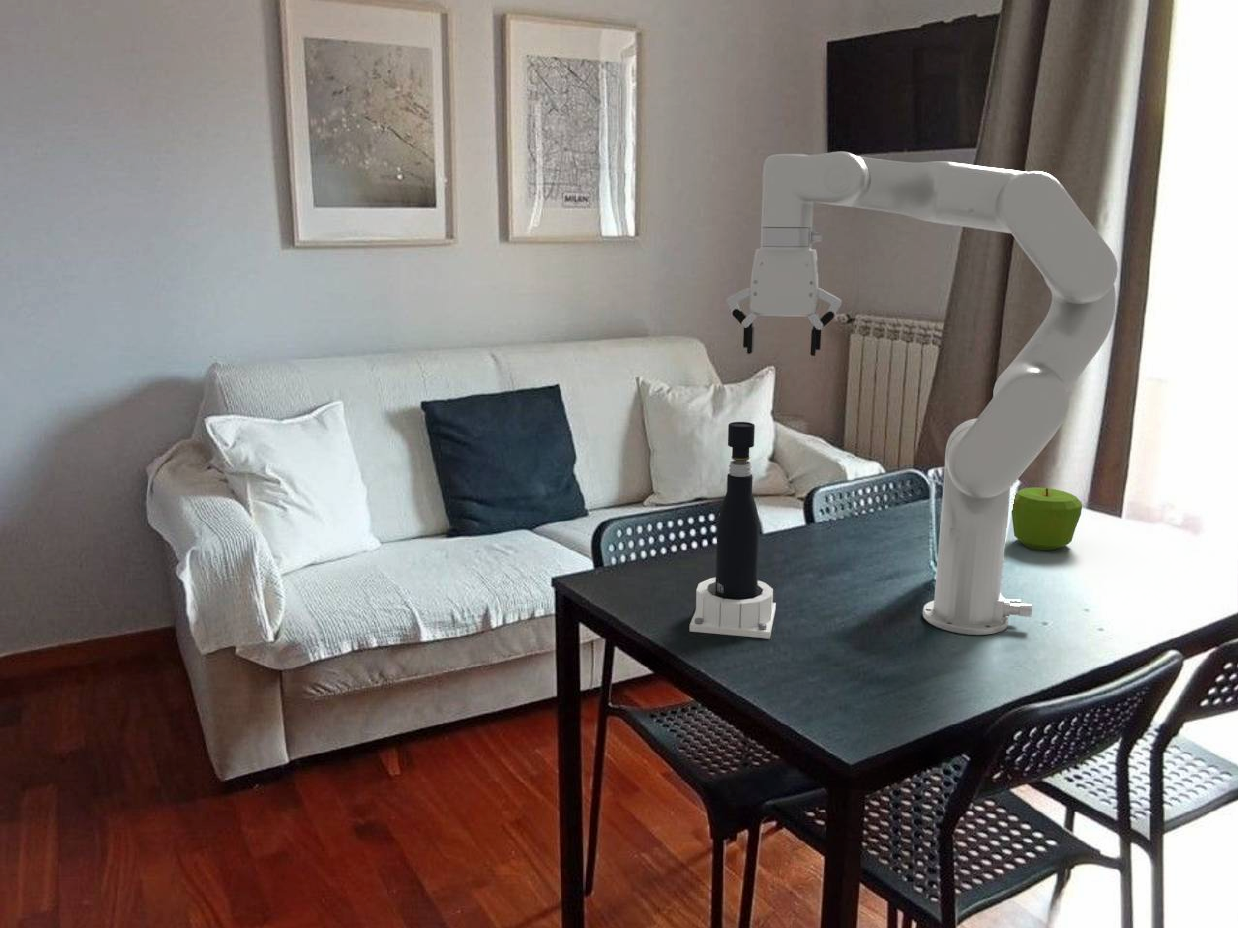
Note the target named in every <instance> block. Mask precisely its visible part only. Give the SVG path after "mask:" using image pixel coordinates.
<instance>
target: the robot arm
mask: <svg viewBox="0 0 1238 928" xmlns="http://www.w3.org/2000/svg"><path fill="white" fill-rule="evenodd" d="M762 172H763V175H762V201H761V203H762V204H761V227H760V228H761V229H760V248H756V250H755V253H754V259H753V264H752V268H751V269H752V270H751V279H750V286H749V287H746V288H744V289H743V290H740V291H738V292H736V293H734V294H733V295H730V296H729V297H727V298H726V304H727V305H728V307H729V310H730V312H731V314H732V316H733V317H734V318H735V319H736V321H737V322H739V323H740V325H741V327H743V337H742V339H743V340H742V347H743V348H746V354H747V355H751V354H752V353H753V352H754V342H755V339H754V338H755V326H754V325H753V323H754V321H755V320H756V319H757V317H758V316H764V317H793V318H795V317H797V318H798V317H799V318H801V317H802V318H803V317H807V319H808V320H809V321H810V323H811V324H812V325H813V327H812V329H811V334H810V335H811V336H810V356H811V357H815V356H816V353H817V351H821V345H822V329H824V327H826V325H827V324H828V323H830V321H832V320H834V318H835V316H836V314H837V312H838V311H839V309H840V307H841V306H842V303H843V302H842V300H841V299H840V298H838V297H837V296H835V295H833V294H831V293H830V292H827V291H826V290H824V289H822V288H820V287H819V261H818V254H817V249H814V248H813V249H812V245H813V244H814V243H817V242H820V243H821V242H822V236H823V234H822V232H817V231H815V230H813V218H814V203H815V204H816V203H817V204H825V205H831V206H842V207H849V208H856V209H857V208H858V209H864V210H865V209H866V210H872V211H873V210H874V211H880V212H887V213H891V214H898V215H899V214H900V215H904V216H908V217H912V218H913V219H914V218H915V219H917V220H920V221H924V222H929V223H930V222H931V223H935V224H941V225H949V226H957V227H958V226H959V227H963V228H964V227H965V228H970V229H971V228H972V229H979V230H985V231H990V232H991V231H993V232H997V233H998V232H999V233H1006V234H1011V235H1012V236H1013V237H1014V239H1015V240H1016V242H1017V243H1018V245H1019V247H1021V249H1022V251H1023V252H1024V253H1025V254H1026V255H1027V257H1028V258H1029V260H1030V261H1031V262H1032V263H1033V265H1034V266H1035V268H1036V269H1037V270H1038V271H1039V272H1040V274H1041V275H1042V276H1043V279H1044V282H1045V284H1046V285H1047V287H1048V289H1049V290H1050V292H1051V304H1050V307H1049V310H1048V312H1047V315H1046V317H1045V318H1044V319H1043V320H1042V323H1041V324H1040V326H1039V327H1038V328H1037V329H1036V331H1035V333H1034V334H1033V335H1032V337H1031V338H1030V340H1028V342H1027V343H1026V344H1025V346H1024V347H1023V348H1022V350H1020V352H1019V353H1018V354H1017V356H1016V357H1015V358H1014V359H1013V360H1012V362H1011V363H1009V365H1008V366H1007V367H1006V368H1005V370H1004V371H1002V373H1001V374H1000V375H999V377H998V378H997V380H996V381H995V384H994V387H993V391H992V392H993V395H992V399H991V400H990V402H988V404H987V405H986V407H985V408H984V409H983V411H982V412H981V413H980V414H979V416H978V417H977V418H972V419H969V420H965V421H964V422H961V423H960V424H959V425H957V426H956V427H955V428H954V429H953V431H952V432H951V433H950V435H949V437H948V439H947V442H946V446H945V455H944V473H943V475H944V476H943V487H942V488H943V491H942V492H943V493H942V502H941V503H942V504H941V515H940V516H941V517H940V526H939V527H940V528H939V537H938V538H939V540H938V549H937V564H936V573H935V575H936V576H935V588H934V598H933V599H934V600H931V601H928V602H927V603H925V604H924V605H923V608H922V617H923V619H925V621H926V622H928V623H929V625H932V626H934V627H935V628H937V629H938V628H939V629H941V630H944V631H948V632H951V633H956V634H962V635H972V636H986V635H993V634H997V633H1001V632H1003V631H1004V630H1005V629H1007V627H1008V626H1009V617H1010V616H1018V617H1025V618H1032V613H1033V606H1032V604H1029V603H1028V604H1027V603H1021V602H1022V601H1021V599H1014V598H1011V599H1009V598H1005V596H1003V594H1002V592H1001V589H1002V588H1001V587H1002V577H1003V569H1004V568H1003V567H1004V558H1005V547H1006V537H1007V528H1008V521H1009V510H1010V496H1011V487H1012V486H1013V485H1014V484H1015V483H1016V482H1017V480H1018V479H1019V478H1020V477H1021V476H1022V474H1023V473H1024V472H1025V471H1026V469H1028V467H1029V466H1030V465H1031V464H1033V461H1034V460H1035V459H1036V458H1037V456H1039V454H1041V452H1042V450H1043V449H1044V448H1045V447H1046V446H1047V445H1048V443H1049V442H1051V440H1052V439H1053V437H1054V436H1055V435H1056V433H1057V432H1058V430H1059V429H1060V428H1061V426H1062V424H1063V423H1064V421H1065V419H1066V417H1067V414H1068V411H1069V407H1070V395H1069V391H1070V389H1071V388H1072V387H1073V385H1074V384H1075V382H1076V381H1077V380H1078V379H1079V377H1080V376H1081V375H1082V374H1083V372H1084V371H1085V369H1086V368H1087V366H1088V365H1089V364H1090V363H1091V361H1092V360H1093V359H1094V357H1095V356H1096V355H1097V353H1098V352H1099V350H1100V348H1102V345H1103V344H1104V343H1105V341H1106V339H1107V338H1108V335H1109V333H1110V331H1111V329H1112V326H1113V322H1114V319H1115V315H1116V314H1115V313H1116V304H1117V303H1116V301H1117V300H1116V298H1117V297H1116V286H1115V283H1116V282H1117V281H1116V280H1117V278H1118V269H1119V268H1118V262H1117V258H1116V256H1115V254H1114V252H1113V251H1112V249H1111V248H1110V246H1109V245H1108V244H1107V243H1106V241H1105V240H1104V239H1103V237H1102V236H1101V235H1100V234H1099V232H1098V231H1097V230H1096V228H1095V227H1094V226H1093V225H1092V223H1091V222H1090V220H1089V219H1088V218H1087V216H1085V214H1084V213H1083V211H1081V209H1080V208H1079V206H1078V205H1077V203H1076V202H1075V201H1074V199H1073V198H1072V197H1071V196H1070V194H1069V193H1068V191H1067V190H1066V189H1065V187H1064V185H1063V184H1062V183H1061V182H1060V181H1059V180H1058V179H1057V178H1056V177H1054V176H1053V175H1051V174H1050V173H1047V172H1044V171H1040V170H1031V171H1022V170H1015V169H1007V168H1006V169H1005V168H1000V167H999V168H998V167H990V166H984V165H983V166H982V165H975V164H969V163H959V162H954V161H944V160H943V161H942V160H941V161H940V160H939V161H937V160H934V161H924V162H909V161H896V160H888V159H881V158H873V157H865V156H861V155H860V156H859V155H855V154H853V153H852V152H848V151H832V152H826V153H819V154H811V155H808V154H804V153H803V154H802V153H777V154H772V155H769V156H767V157H766V159H765V160H764V163H763V171H762ZM748 297H749V310H750V312H749V313H748V315H746V314H745V313H744V312H743V311H742V310H741V309H740V306H739V302H741V301H742V300H744V299H746V298H748ZM819 299H820V300H822V301H824V302H826V303H828V304H829V305H830V306H829V308H828V310H827V312H826V313H825V314H823V316H821V317H820V316H819V314H818V313H817V312H816V311H817V310H818V304H819V303H818V302H819Z"/></svg>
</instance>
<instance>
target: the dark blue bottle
mask: <svg viewBox="0 0 1238 928" xmlns="http://www.w3.org/2000/svg"><path fill="white" fill-rule="evenodd" d="M727 426H728V431H727V436H728V437H727V446H728V447H730V448H732V449H731V450H732V451H731V452H732V454H731V455H732V456H731V459H732V461H730V463H729V465H728V467H729V469H728V472H729V473H728V474H727V476H726V477H727V478H726V494H725V496H724V498H723V501H722V504H721V507H720V510H719V514H718V518H717V523H716V548H715V549H716V550H715V551H716V552H715V553H716V556H715V557H716V558H715V578H716V586H715V596H717V597H720V598H723V599H732V600H744V599H753V598H755V597H757V586H758V581H759V556H760V555H759V554H760V553H759V551H760V531H761V530H760V529H761V528H760V527H761V524H760V519H759V518H760V516H759V513H758V507H757V504H756V501H755V498H754V494H753V479H754V477H753V475H752V474H751V473H752V470H751V469H752V465H751V463H752V462H751V461H749V460H750V449H751V448H753V447H754V446H755V434H756V433H755V432H756V431H755V430H756V429H755V427H756V426H755V424H754V423H752V422H749V421H748V422H747V421H733V422H729V423H728V425H727Z"/></svg>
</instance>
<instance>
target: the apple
mask: <svg viewBox="0 0 1238 928" xmlns="http://www.w3.org/2000/svg"><path fill="white" fill-rule="evenodd" d="M1015 493H1016V495H1015V499H1014V504H1013V510H1012V511H1011V518H1012V519H1011V521H1012V527H1013V529H1012V530H1013V535H1014V537H1015V538H1016V539H1017V540H1018V541H1019V542H1020V543H1022V544H1023V545H1024V546H1025V547H1027V548H1029V549H1031V550H1039V551H1052V550H1057V549H1060V548H1062V547H1065V546H1067V545H1069V544H1070V543H1072V540H1073V539H1074V535H1075V531H1076V527H1077V526H1078V523H1079V522H1080V521H1079V520H1080V518H1081V516H1082V510H1083V503H1082V501H1081V500H1080V499H1079V498H1078V497H1077V496H1075V494H1072V493H1070V492H1067V491H1065V490H1060V489H1056V488H1055V489H1054V488H1051V487H1050V488H1047V487H1031V486H1030V487H1024V488H1021V489H1019V490H1018V491H1017V492H1015Z"/></svg>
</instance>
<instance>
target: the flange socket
mask: <svg viewBox="0 0 1238 928" xmlns="http://www.w3.org/2000/svg"><path fill="white" fill-rule="evenodd" d="M715 586H716V577H711V578H708V579H706V580H704V581H701V582H699V583H698V585H697V588H696V590H695V591H696V593H695V596H696V598H695V611H694V614H693V616H692V618H691V621H690V623H689V632H693V633H702V634H703V633H704V634H712V635H713V634H715V635H725V636H726V635H727V636H737V637H747V638H748V637H750V638H758V639H759V638H761V639H767V640H770V639H771V635H772V634H771V633H772V628H773V624H774V618H775V613H776V608H777V607H776V606H777V603H776V602H774V601H773V600H774V588H772V587H771V586H770V585H769V584H767V583H766V582H765V581H761V580H758V586H757V597H755V598H753V599H744V600H732V599H723V598H720V597H717V596H715Z"/></svg>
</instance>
